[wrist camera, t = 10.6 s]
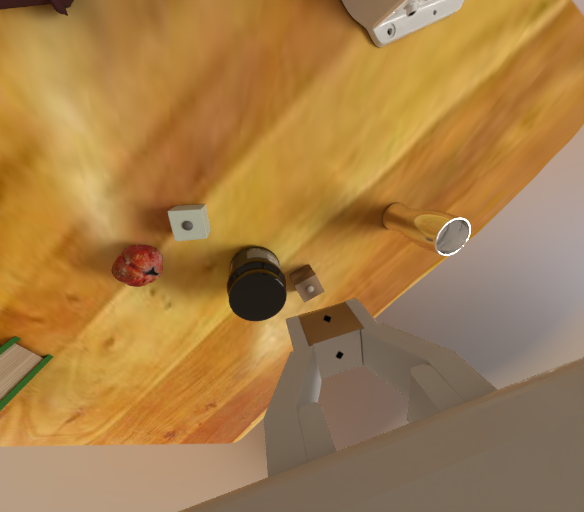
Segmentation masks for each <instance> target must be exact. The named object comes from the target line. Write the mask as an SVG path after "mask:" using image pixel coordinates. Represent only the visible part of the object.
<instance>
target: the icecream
mask: <svg viewBox="0 0 584 512" xmlns="http://www.w3.org/2000/svg"><path fill="white" fill-rule="evenodd" d="M72 2H73V0H0V9H8V8H17V7H27V6H36V5H46V4H52V6H53V7H54V9H55V10H56V11H57V12H59V13H61V14H65V15H67V16H68V14H67V11H66V8H67V7H70V6H71V4H72Z"/></svg>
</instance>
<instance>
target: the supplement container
mask: <svg viewBox="0 0 584 512" xmlns="http://www.w3.org/2000/svg"><path fill="white" fill-rule="evenodd" d="M227 293H228V296H229V304H230V307H231V309H232V310H233V312H234V313H235V314H236V315H237V316H239V317H241V318H243V319H245V320H249V321H262V320H266V319H269V318H271V317H273V316H275V315H276V314H277V313H278V312H279V311H280V310H281V309H282V308H283V306H284V304H285V301H286V296H287V294H286V280H285V277H284V274H283V272H282V270H281V267H280V264H279V261H278V259H277V257H276V255H275V254H274V253H273V252H272V251H270V250H269V249H267V248H264V247H260V246H251V247H247V248H244V249H242V250H241V251H239V252H238V253H237V254H236V255H235V256H234V257H233V259H232V261H231V264H230V272H229V279H228V282H227Z"/></svg>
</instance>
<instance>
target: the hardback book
mask: <svg viewBox="0 0 584 512" xmlns="http://www.w3.org/2000/svg"><path fill="white" fill-rule="evenodd" d="M19 340H20V338H18V337H16V336H15V337H14V338H12V339H10V340H9V341H7V342H6V343H4V344H3V345H1V346H0V411H1V410H2V409H3V408H4V407H5V406H6V404H7V403H8V402H9V401H10V400H11V399H12V398H13V397H14V396H15V395H16V394H17V393H18V392H19V391H20V390H21V389H22V388H23V387H24V386H25V385H26V384H27V383H28V382H29V381H30V380H31V379H32V378H33V377H34V376H35V375H36V374H37V373H38V372H39V371H40V370H41V369H42V368H43V367H44V366H45V365H46V364H47V363H48V362H49V361H50V360H51V359H52V358H53V356H51V355H47V356H46V357H44V358H42V357H40V356H38V355H36V354H34V353H32V352H30V351H28V350H27V349H25V348H23V347H21V346H19V345H17V344H15V343H16V342H17V341H19Z"/></svg>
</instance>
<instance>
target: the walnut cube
mask: <svg viewBox="0 0 584 512" xmlns="http://www.w3.org/2000/svg"><path fill="white" fill-rule="evenodd" d="M290 276H291V279H292V281H293V284H294V286H295V288H296V290H297V291H298V293H299V294H300V296H301V298H302V299H303V301H304V303H305V302H306V301H308V300H310V299H312V298H314V297H315V296H317V295H319V294H321V293H323V292H324V289H323V288H322V286H321V284H320V282H319V280H318V278H317V276H316V274H315V273H314V271H313V270H312V268H311V267H310V265H309V264H308V265H307V266H305V267H303V268H301V269H299V270H298V271H296V272H294V273H292V274H290Z"/></svg>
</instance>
